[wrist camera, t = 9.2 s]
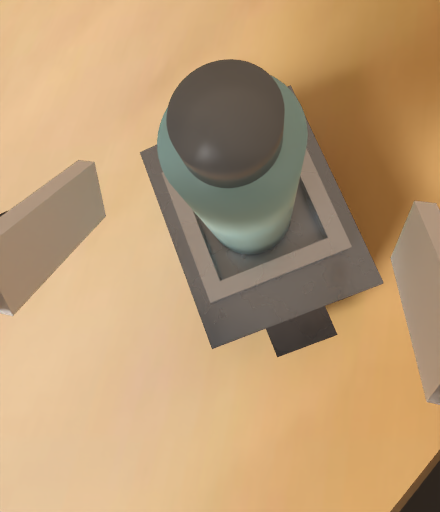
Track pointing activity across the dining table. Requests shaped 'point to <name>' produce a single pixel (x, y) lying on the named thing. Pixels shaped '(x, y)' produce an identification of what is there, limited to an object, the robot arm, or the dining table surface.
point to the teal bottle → (235, 152)
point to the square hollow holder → (272, 262)
